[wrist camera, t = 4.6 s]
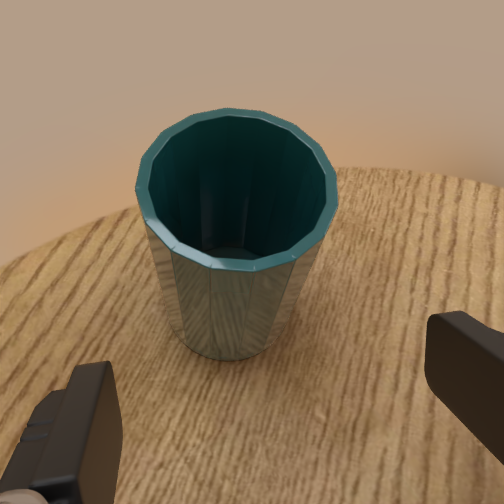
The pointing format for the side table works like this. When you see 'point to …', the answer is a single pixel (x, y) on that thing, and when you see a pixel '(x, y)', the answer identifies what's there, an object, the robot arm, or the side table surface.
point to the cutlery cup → (234, 225)
